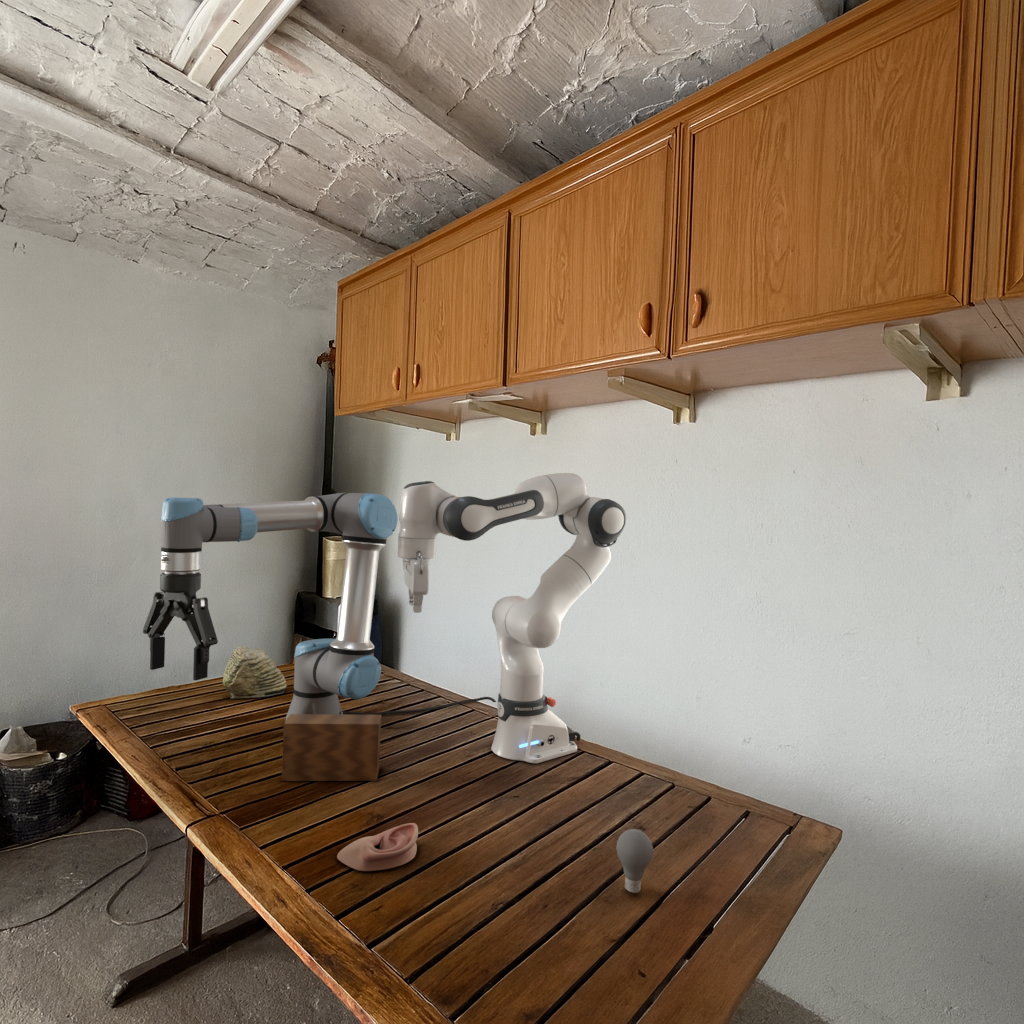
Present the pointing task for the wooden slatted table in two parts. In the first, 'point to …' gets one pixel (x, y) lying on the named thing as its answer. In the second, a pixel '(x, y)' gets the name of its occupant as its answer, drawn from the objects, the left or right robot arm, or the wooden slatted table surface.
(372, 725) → the box
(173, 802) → the wooden slatted table surface
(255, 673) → the fossil
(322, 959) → the wooden slatted table surface
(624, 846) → the light bulb
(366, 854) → the anatomical model
